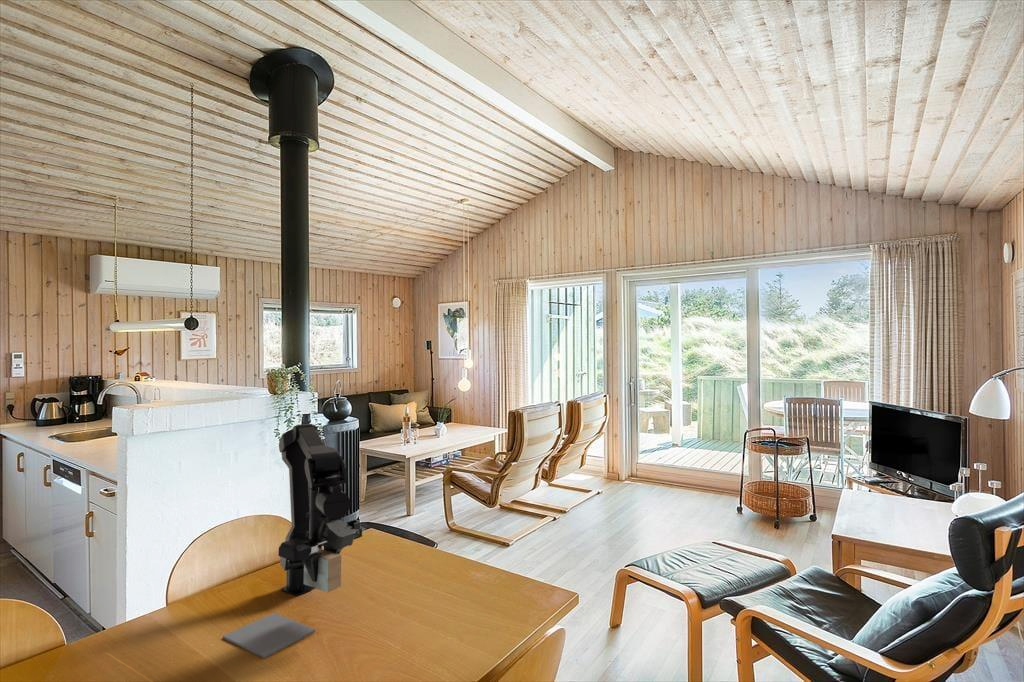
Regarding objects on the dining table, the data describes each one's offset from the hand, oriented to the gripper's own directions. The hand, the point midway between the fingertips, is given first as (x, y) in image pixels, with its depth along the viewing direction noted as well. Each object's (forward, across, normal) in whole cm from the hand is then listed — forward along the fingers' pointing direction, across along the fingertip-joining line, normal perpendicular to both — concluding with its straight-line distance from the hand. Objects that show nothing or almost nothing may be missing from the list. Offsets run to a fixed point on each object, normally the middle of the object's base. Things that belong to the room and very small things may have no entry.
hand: (322, 578), depth 120 cm
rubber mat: (+9, -10, +4) cm, 14 cm away
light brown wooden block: (+2, 0, 0) cm, 2 cm away
